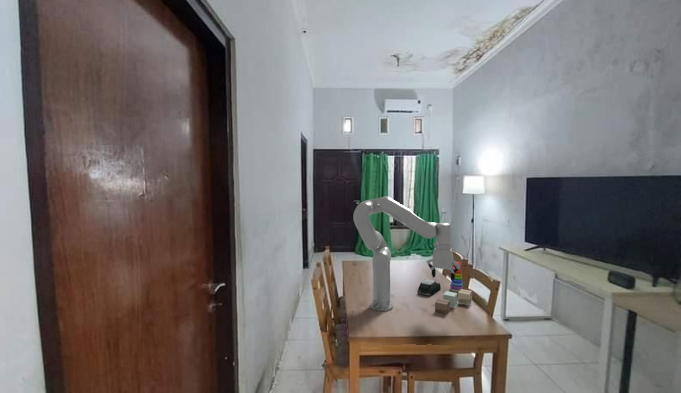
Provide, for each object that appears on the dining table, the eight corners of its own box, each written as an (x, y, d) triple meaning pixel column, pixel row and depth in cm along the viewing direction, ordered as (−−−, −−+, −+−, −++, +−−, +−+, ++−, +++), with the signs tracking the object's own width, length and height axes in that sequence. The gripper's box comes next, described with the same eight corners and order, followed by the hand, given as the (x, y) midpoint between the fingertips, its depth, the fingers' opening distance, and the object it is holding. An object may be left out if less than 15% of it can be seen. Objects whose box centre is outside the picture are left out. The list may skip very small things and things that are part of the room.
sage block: (454, 307, 167) (454, 296, 166) (443, 304, 170) (443, 294, 170) (457, 303, 171) (457, 293, 171) (446, 301, 175) (446, 291, 175)
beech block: (469, 305, 170) (469, 294, 169) (458, 302, 173) (458, 292, 173) (471, 301, 174) (471, 291, 174) (460, 299, 178) (460, 289, 178)
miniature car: (441, 290, 195) (441, 277, 195) (430, 298, 181) (430, 285, 181) (428, 287, 201) (428, 275, 200) (416, 295, 187) (416, 282, 186)
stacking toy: (461, 294, 187) (462, 264, 186) (448, 291, 192) (448, 262, 191) (464, 290, 194) (464, 261, 193) (451, 287, 198) (451, 259, 197)
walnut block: (446, 315, 158) (446, 304, 158) (434, 312, 162) (435, 301, 161) (449, 311, 163) (449, 300, 163) (438, 309, 167) (438, 298, 166)
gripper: (424, 246, 162) (424, 277, 163) (458, 250, 152) (458, 283, 153) (429, 243, 169) (429, 274, 169) (462, 247, 159) (461, 279, 159)
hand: (443, 278), depth 161 cm, fingers open, 9 cm apart
